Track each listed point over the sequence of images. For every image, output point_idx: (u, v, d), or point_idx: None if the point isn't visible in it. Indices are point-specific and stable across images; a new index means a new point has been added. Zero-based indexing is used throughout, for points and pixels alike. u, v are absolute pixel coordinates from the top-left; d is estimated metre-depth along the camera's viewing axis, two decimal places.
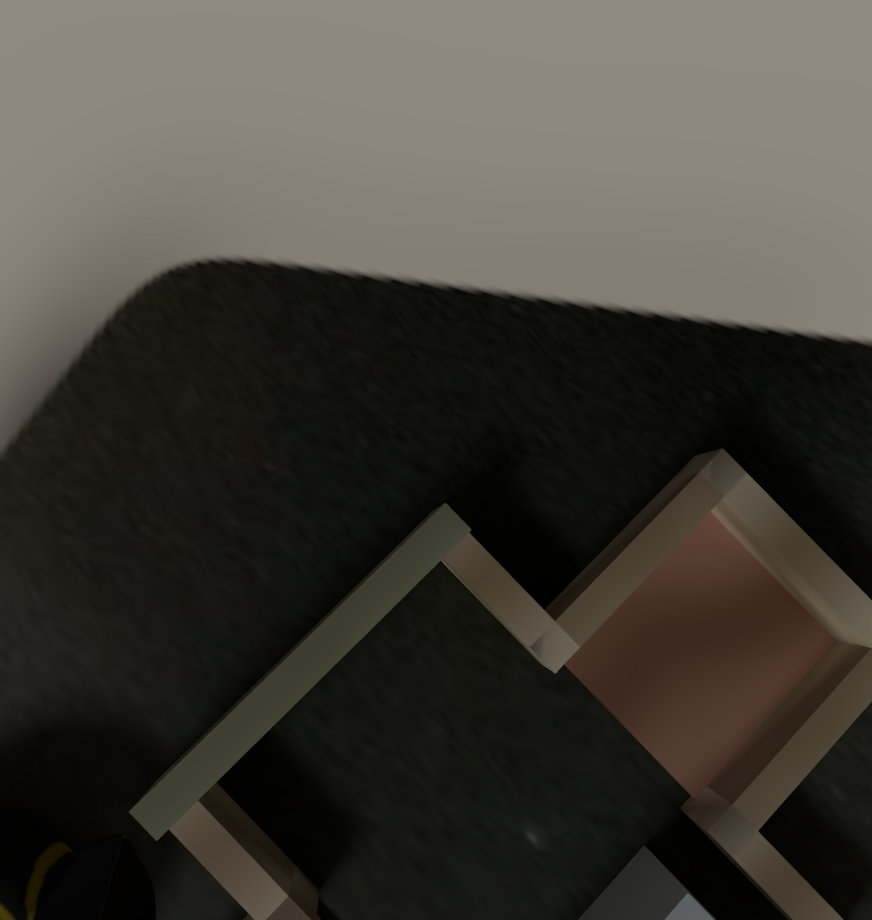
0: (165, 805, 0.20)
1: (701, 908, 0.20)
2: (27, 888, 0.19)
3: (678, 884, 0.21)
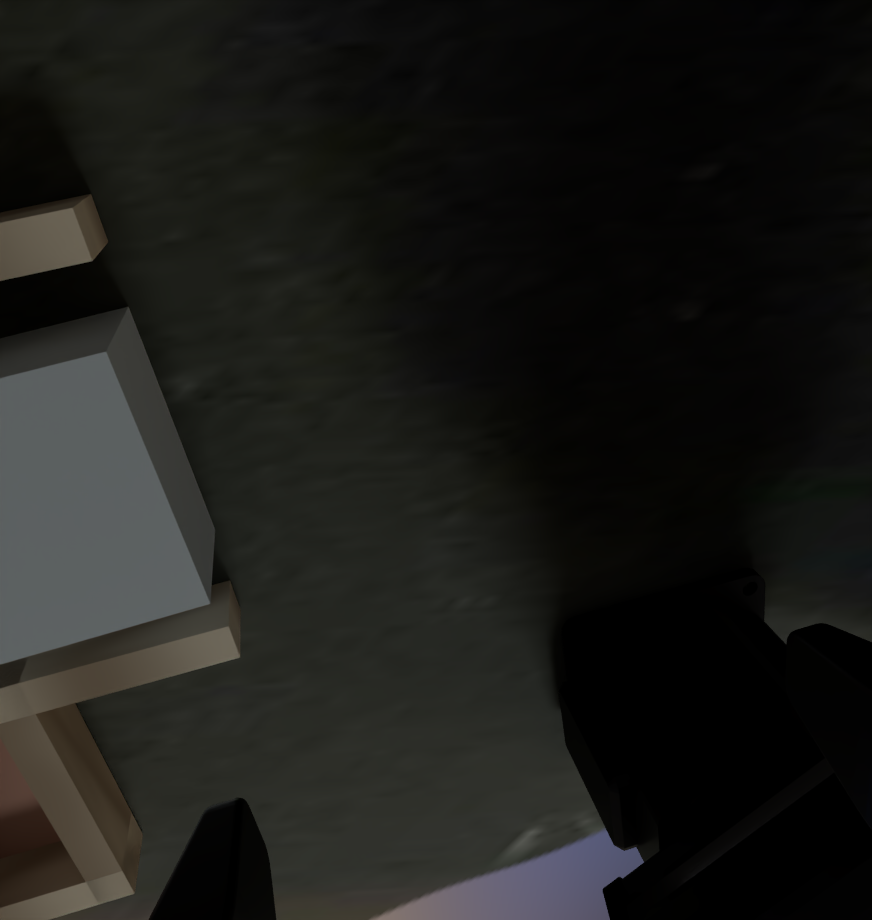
0: None
1: None
2: None
3: None
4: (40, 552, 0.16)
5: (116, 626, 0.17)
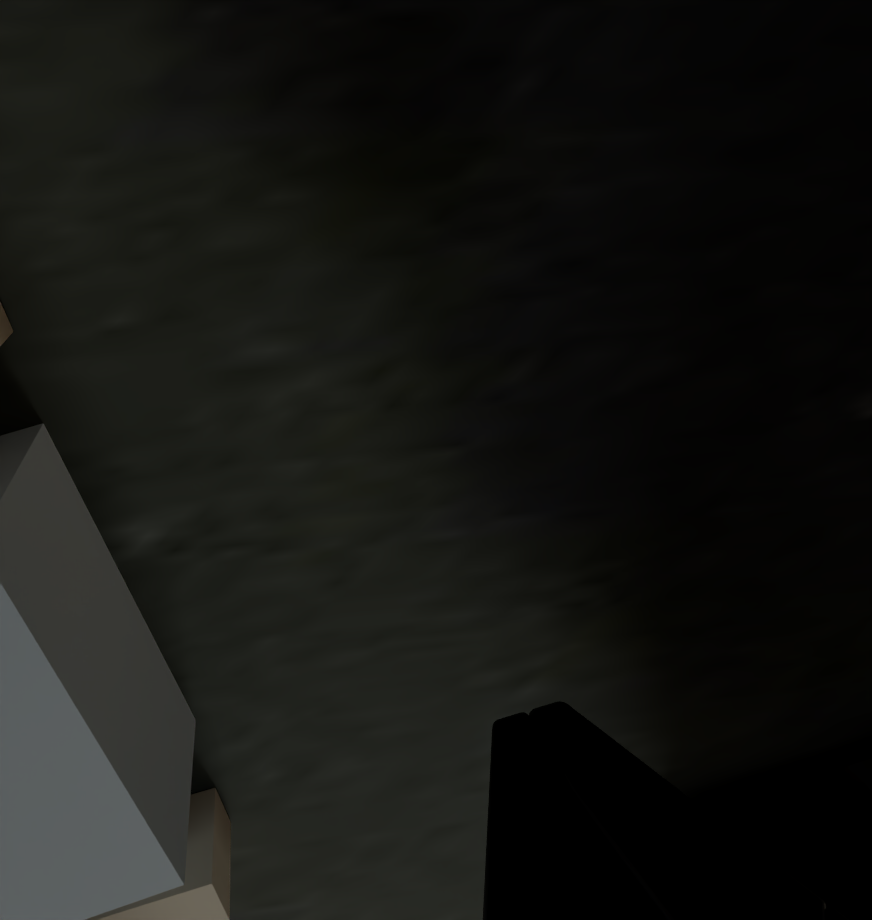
0: None
1: None
2: None
3: None
4: None
5: None
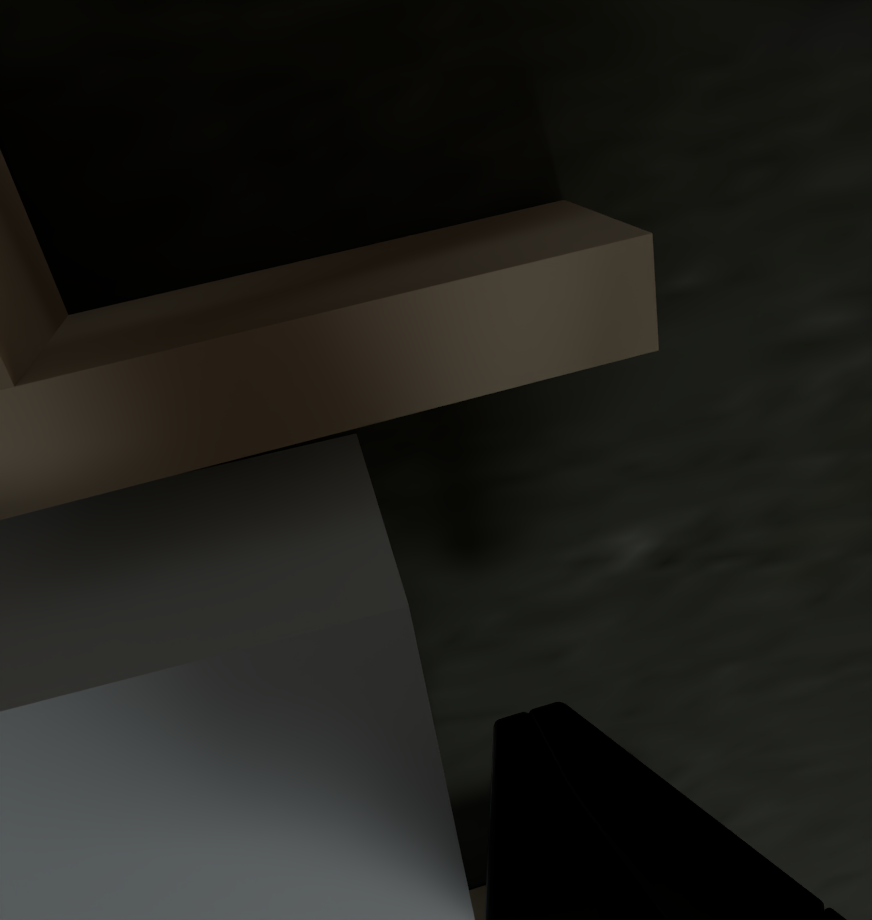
0: None
1: None
2: None
3: None
4: None
5: None
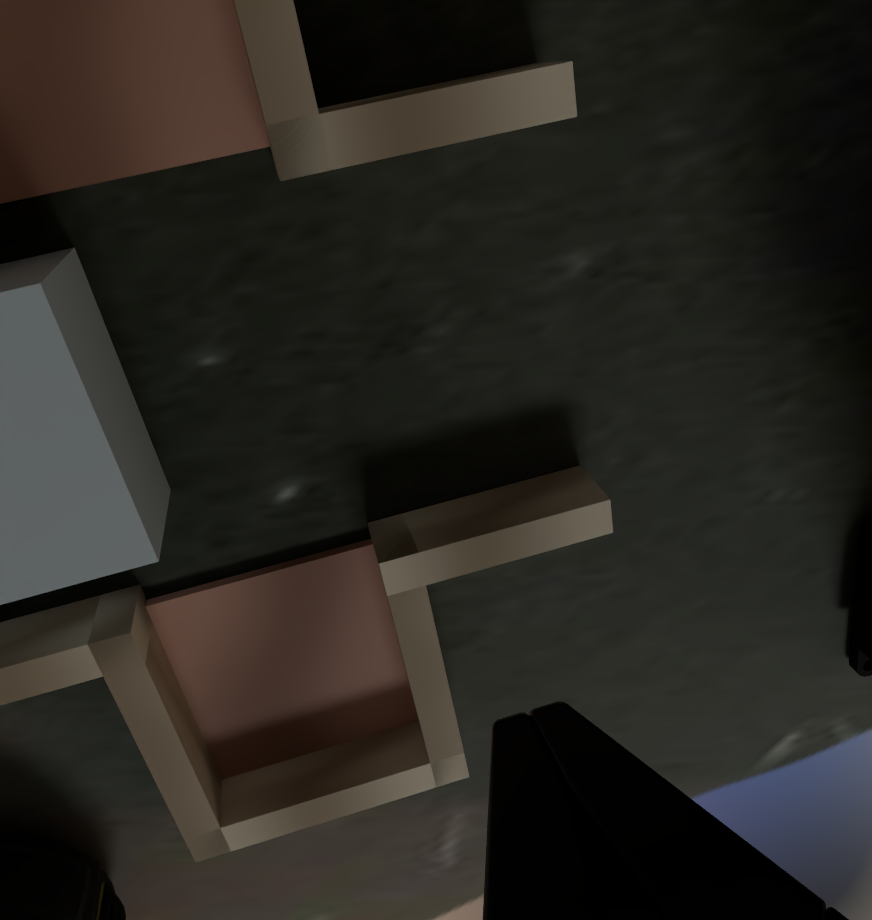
0: None
1: None
2: None
3: None
4: None
5: (59, 584, 0.17)
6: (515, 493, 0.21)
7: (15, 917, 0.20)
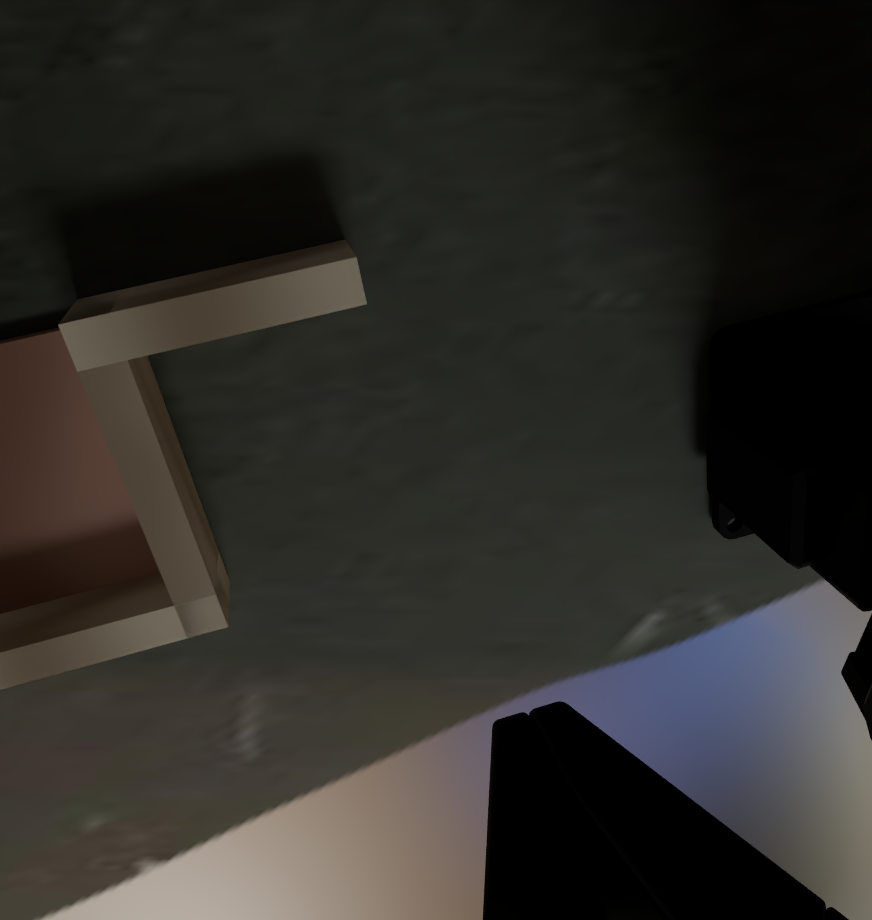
0: None
1: None
2: None
3: None
4: None
5: None
6: (256, 264, 0.17)
7: None
